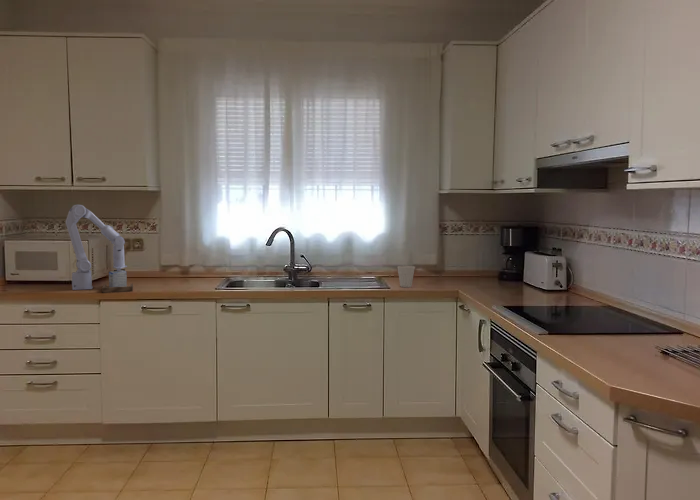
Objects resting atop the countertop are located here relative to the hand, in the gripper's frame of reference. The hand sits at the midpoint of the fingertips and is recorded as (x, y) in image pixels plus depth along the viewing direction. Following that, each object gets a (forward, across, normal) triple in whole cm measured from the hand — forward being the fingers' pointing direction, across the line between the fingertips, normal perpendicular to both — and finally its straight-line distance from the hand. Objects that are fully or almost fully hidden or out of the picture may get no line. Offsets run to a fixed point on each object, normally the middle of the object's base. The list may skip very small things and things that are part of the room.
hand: (119, 282), depth 324 cm
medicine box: (+2, -5, +1) cm, 6 cm away
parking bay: (+2, -14, 0) cm, 14 cm away
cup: (+3, -48, -147) cm, 155 cm away
